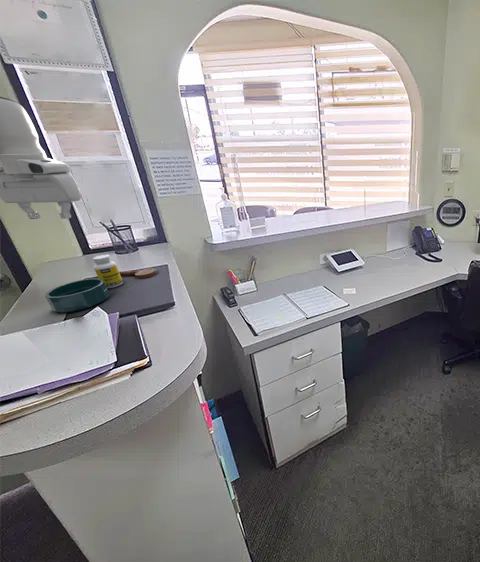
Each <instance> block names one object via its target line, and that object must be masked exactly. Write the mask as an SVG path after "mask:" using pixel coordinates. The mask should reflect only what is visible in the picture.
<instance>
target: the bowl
mask: <svg viewBox="0 0 480 562" xmlns="http://www.w3.org/2000/svg"><path fill="white" fill-rule="evenodd" d="M109 297H110V292H109V288H107V287H106V285H105V282H104V280H103V279H99V278H98V277H96V278H95V277H94V278H93V277H91V278H84V279H79V280H75V281H71V282H67V283H64V284H61V285H58V286H56V287H54V288H51V289H50V290H48V291H47V292H45V294H44V298H45V299H46V301H47V303H48V305H49V307H50V308H51V310H52V311H54V312H55V313H74V312H78V311H83V310H85V309H86V310H87V309H89V308H92V307H94V306H97V305H99V304H101V303H103V302H104V301H105V300H107V299H108V298H109Z"/></svg>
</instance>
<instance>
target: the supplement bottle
mask: <svg viewBox="0 0 480 562" xmlns="http://www.w3.org/2000/svg"><path fill="white" fill-rule="evenodd" d="M92 260H93V262H94V265H93V270H94V271H95V274H96V276H97V278H99V279H103V280H104V282H105V285H106V287H107V289H113V288H117V287H119V286H121V285H123V284H124V281H123V278H122V276H121V275H120V273H119V271H120V270H119V268H118V265H117V264H116V262H115V261H112V258H111V256H110V255H109V254H101V255H97V256H95V257H93V258H92Z"/></svg>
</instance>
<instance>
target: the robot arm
mask: <svg viewBox="0 0 480 562" xmlns="http://www.w3.org/2000/svg"><path fill="white" fill-rule="evenodd" d="M0 165H1V166H0V199H1V201H2V202H4V203H5V204H17V206H18V208H19V209H20V210H22V211H23V212H24V213H25V214H26V216H27V217H28V219H30V220H37V219H40V218H41V216H40V213H39V211H35V210H34V209H33V207H32V206H33V205H32V203H33V204H35V203H39V204H40V203H57V205H58V207H60V212H58V215H59V216H60V219H62V220H66V219H71V218H72V214H71V212H70V211H71V207H72V204H71V203H73V202H78V201H80V200H81V198H82V194H81V190H80V187H79V185H78V183H77V181H76V179H75V177H74V176H73V175H72V174H71V173H70V172H71V167H70V165H69V164H68V163H65V162H62V161H59V160H56V159H52V158H50V157H48V156H47V153H46V152H45V150H44V149H43V148H42V146H41V144H40V140H39V134H38V132H37V130H36V128H35V125H34V123H33V121H32V119H31V117H30V116H29V114H28V112H27V110H26V109H25V108H24V106H22V105H21V104H20V103H18V102H17V101H15V100H14V99H13V100H12V99H11V98H7V97H3V96H0Z"/></svg>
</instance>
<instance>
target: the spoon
mask: <svg viewBox="0 0 480 562" xmlns="http://www.w3.org/2000/svg"><path fill="white" fill-rule="evenodd" d="M119 273H120V275H121V277H122V276H127V277H128V276H134V277H135V278H136V279H147V278H151V277H153V276H155V275H156V274H157V273H158V272H157V269H156V268H151V267H150V268H145V269H141V270H119Z"/></svg>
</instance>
